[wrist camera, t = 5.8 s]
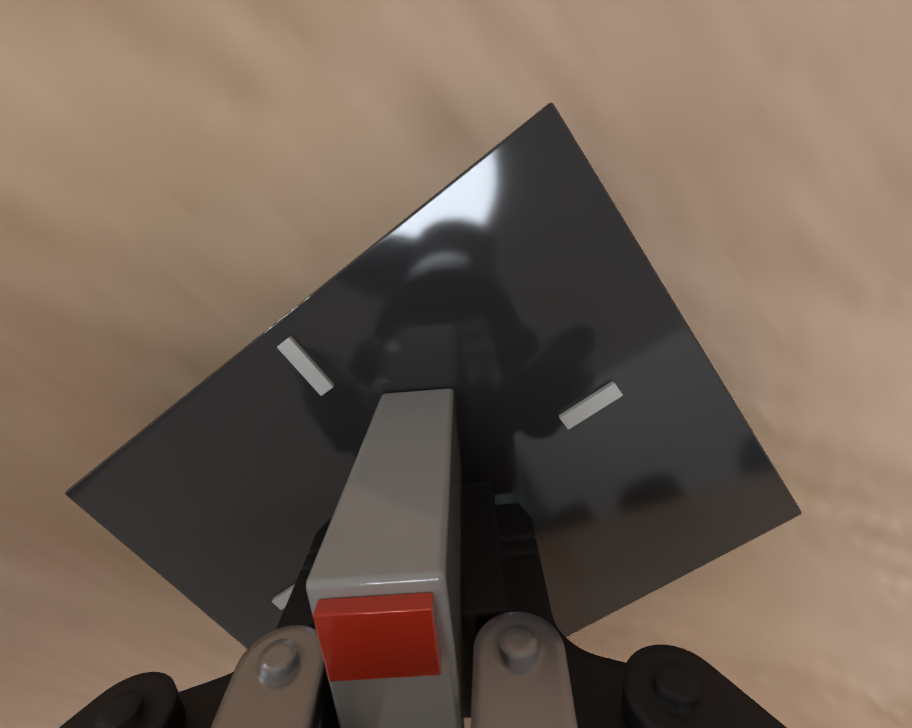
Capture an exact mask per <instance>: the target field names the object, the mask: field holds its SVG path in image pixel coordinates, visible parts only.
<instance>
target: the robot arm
mask: <svg viewBox="0 0 912 728" xmlns="http://www.w3.org/2000/svg"><path fill="white" fill-rule="evenodd" d="M332 517H333V516H332ZM332 517H331V518H330V519H329V520H328V521H327V522H326V523H325V524H324V525H323V526H322V527H321V529H320V530H319V531H318V532H317V533H316V535H315V538H314V540H313V543H312V545H311V547H310V550H309V554H307V557H306V559H305V561H304V564H303V569H302V570H301V571H300V573H299V576H298V578H297V580H296V583H295V585H294V587H293V590H292V592H291V595H290V597H289V599H288V602H287V604H286V606H285V609H284V611H283V613H282V616H281V618H280V621H279V623H278V625H277V628H276V630H274V631H272V632H270V633H268V634H266V635H264V636H263V637H261V638H260V639H259V640H257V641H256V642H255V643H254V644H253V645H252V646H250V647H249V648H248V650H247V651H246V652H245V653H244V654H243V656H242V657H241V659H240V660H239V662H238V664H237V666H236V668H235V670H234V672H232V673H230V674H228V675H226V676H223V677H221V678H218V679H215V680H212V681H209V682H207V683H204V684H201V685H198V686H195V687H192V688H189V689H187V690H184V691H181V692H178V690H177V688H176V685H175V683H174V681H173V679H172V678H171V677H170V676H168V675H166V674H164V673H160V672H147V673H142V674H138V675H135V676H132V677H130V678H127V679H125V680H123V681H121V682H119V683H117V684H115V685H114V686H112V687H111V688H109V689H108V690H106V691H105V692H103V693H102V694H101V695H99V696H98V697H97V698H96V699H94V700H93V701H92V702H91V703H89V704H88V705H87V706H86V707H84V708H83V709H82V710H81V711H79V712H78V713H77V714H76V715H74V716H73V717H72V718H71V719H69V720H68V721H67V722H66V723H64V724H63V725H62V726H61V727H59V728H340V724H339V720H338V716H337V712H336V708H335V704H334V700H333V696H332V692H331V688H330V684H329V680H328V676H327V672H326V668H325V664H324V660H323V656H322V652H321V647H320V643H319V639H318V635H317V631H316V627H315V623H314V619H313V615H312V611H311V607H310V603H309V599H308V595H307V591H306V582H307V579H308V576H309V574H310V571H311V569H312V566H313V564H314V561H315V559H316V556H317V554H318V551H319V549H320V547H321V544H322V542H323V539H324V537H325V534H326V532H327V529H328V527H329V524H330V522H331V519H332ZM461 621H462V630H463V638H464V647H465V656H466V665H467V673H468V682H469V691H470V700H471V728H786V727H785V726H784V725H783V724H782V723H780V722H779V721H778V720H777V719H776V718H774V717H773V716H772V715H771V714H769V713H768V712H767V711H766V710H765V709H763V708H762V707H761V706H760V705H759V704H757V703H756V702H755V701H754V700H753V699H751V698H750V697H749V696H748V695H746V694H745V693H744V692H743V691H742V690H740V689H739V688H738V687H737V686H736V685H734V684H733V683H732V682H731V681H729V680H728V679H727V678H726V677H725V676H723V675H722V674H721V673H720V672H719V671H717V670H716V669H715V668H714V667H712V666H711V665H710V664H709V663H707V662H706V661H705V660H703V659H702V658H701V657H699V656H697V655H695V654H694V653H692V652H689V651H687V650H685V649H682V648H679V647H675V646H670V645H652V646H647V647H644V648H642V649H640V650H638V651H636V652H635V653H634V654H633V655H632V656H631V657H630V658H629V660H628V661H627V663H625V662H621V661H617V660H613V659H609V658H605V657H601V656H597V655H594V654H591V653H589V652H586V651H584V650H582V649H581V648H579V647H577V646H576V645H574V644H573V643H572V642H570V641H569V640H568V639H567V638H566V637H565V636H564V635H563V634H562V633H561V631H560V630H559V628H558V627H557V625H556V623H555V621H554V618H553V615H552V611H551V606H550V602H549V597H548V592H547V588H546V583H545V578H544V574H543V569H542V564H541V560H540V555H539V551H538V546H537V541H536V538H535V532H534V527H533V523H532V518H531V517H530V515H529V514H528V513H527V512H526V511H525V510H524V509H523V507H522V506H521V505H520V504H519V503H512V504H497V505H495V497H494V488H493V482H481V483H467V484H461Z"/></svg>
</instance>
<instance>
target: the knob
mask: <svg viewBox="0 0 912 728" xmlns="http://www.w3.org/2000/svg"><path fill="white" fill-rule="evenodd" d="M461 484H463V478H462V468H461V458H460V448H459V438H458V428H457V418H456V408H455V398H454V392H453V390H452V389H438V390H425V391H413V392H400V393H388V394H383V395H382V396H381V398H380V401H379V403H378V406H377V408H376V411H375V413H374V415H373V418H372V420H371V423H370V425H369V428H368V430H367V433H366V435H365V438H364V440H363V443H362V445H361V448H360V450H359V453H358V455H357V458H356V460H355V462H354V465H353V467H352V470H351V472H350V475H349V477H348V480H347V482H346V485H345V487H344V490H343V492H342V495H341V497H340V500H339V502H338V504H337V507H336V509H335V512H334V514H333V517H332V519H331V522H330V524H329V527H328V529H327V532H326V534H325V537H324V539H323V542H322V544H321V547H320V549H319V551H318V554H317V556H316V559H315V561H314V564H313V566H312V569H311V571H310V574H309V576H308V579H307V582H306V591H307V595H308V599H309V603H310V607H311V611H312V615H313V619H314V623H315V627H316V631H317V635H318V639H319V643H320V647H321V652H322V656H323V660H324V664H325V668H326V672H327V676H328V680H329V684H330V688H331V692H332V696H333V700H334V704H335V708H336V712H337V716H338V720H339V724H340V728H471V700H470V691H469V682H468V673H467V665H466V656H465V647H464V638H463V630H462V621H461Z"/></svg>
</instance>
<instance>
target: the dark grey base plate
mask: <svg viewBox="0 0 912 728" xmlns="http://www.w3.org/2000/svg"><path fill="white" fill-rule="evenodd" d="M438 389H452V390H453V392H454V398H455V408H456V418H457V428H458V438H459V448H460V458H461V468H462V478H463V484H467V483H481V482H493V488H494V497H495V505H497V504H512V503H519V504H520V505H521V506H522V507H523V509H524V510H525V511H526V512H527V513H528V514H529V515H530V517H531V518H532V523H533V527H534V532H535V538H536V541H537V546H538V551H539V555H540V560H541V564H542V569H543V574H544V578H545V583H546V588H547V592H548V597H549V602H550V606H551V611H552V615H553V618H554V621H555V623H556V625H557V627H558V628H559V630H560V631H561V633H562V634H563V635H564V636H565V637H567V636H569V635H571V634H573V633H575V632H577V631H578V630H580V629H582V628H584V627H586V626H588V625H590V624H592V623H594V622H596V621H598V620H600V619H601V618H603V617H605V616H607V615H609V614H611V613H613V612H615V611H617V610H619V609H621V608H623V607H624V606H626V605H628V604H630V603H632V602H634V601H636V600H638V599H640V598H642V597H644V596H645V595H647V594H649V593H651V592H653V591H655V590H657V589H659V588H661V587H663V586H665V585H667V584H668V583H670V582H672V581H674V580H676V579H678V578H680V577H682V576H684V575H686V574H688V573H690V572H691V571H693V570H695V569H697V568H699V567H701V566H703V565H705V564H707V563H709V562H711V561H712V560H714V559H716V558H718V557H720V556H722V555H724V554H726V553H728V552H730V551H732V550H734V549H735V548H737V547H739V546H741V545H743V544H745V543H747V542H749V541H751V540H753V539H755V538H757V537H758V536H760V535H762V534H764V533H766V532H768V531H770V530H772V529H774V528H776V527H778V526H779V525H781V524H783V523H785V522H787V521H789V520H791V519H793V518H795V517H797V516H799V515H801V513H802V512H801V510H800V508H799V507H798V505H797V503H796V502H795V500H794V498H793V497H792V495H791V494H790V492H789V490H788V489H787V487H786V485H785V484H784V482H783V480H782V479H781V477H780V475H779V474H778V472H777V471H776V469H775V467H774V466H773V464H772V462H771V461H770V459H769V457H768V456H767V454H766V452H765V451H764V449H763V447H762V446H761V444H760V443H759V441H758V439H757V438H756V436H755V434H754V433H753V431H752V429H751V428H750V426H749V424H748V423H747V421H746V420H745V418H744V416H743V415H742V413H741V411H740V410H739V408H738V406H737V405H736V403H735V401H734V400H733V398H732V397H731V395H730V393H729V392H728V390H727V388H726V387H725V385H724V383H723V382H722V380H721V378H720V377H719V375H718V374H717V372H716V370H715V369H714V367H713V365H712V364H711V362H710V360H709V359H708V357H707V355H706V354H705V352H704V350H703V349H702V347H701V346H700V344H699V342H698V341H697V339H696V337H695V336H694V334H693V332H692V331H691V329H690V327H689V326H688V324H687V323H686V321H685V319H684V318H683V316H682V314H681V313H680V311H679V309H678V308H677V306H676V304H675V303H674V301H673V300H672V298H671V296H670V295H669V293H668V291H667V290H666V288H665V286H664V285H663V283H662V281H661V280H660V278H659V277H658V275H657V273H656V272H655V270H654V268H653V267H652V265H651V263H650V262H649V260H648V258H647V257H646V255H645V253H644V252H643V250H642V249H641V247H640V245H639V244H638V242H637V240H636V239H635V237H634V235H633V234H632V232H631V230H630V229H629V227H628V226H627V224H626V222H625V221H624V219H623V217H622V216H621V214H620V212H619V211H618V209H617V207H616V206H615V204H614V203H613V201H612V199H611V198H610V196H609V194H608V193H607V191H606V189H605V188H604V186H603V184H602V183H601V181H600V180H599V178H598V176H597V175H596V173H595V171H594V170H593V168H592V166H591V165H590V163H589V161H588V160H587V158H586V156H585V155H584V153H583V152H582V150H581V148H580V147H579V145H578V143H577V142H576V140H575V138H574V137H573V135H572V133H571V132H570V130H569V129H568V127H567V125H566V124H565V122H564V120H563V119H562V117H561V115H560V114H559V112H558V110H557V109H556V107H555V106H554V104H553V103H549V104H547V105H546V106H545V107H544V108H542V109H541V110H540V111H539V112H537V113H536V114H535V115H534V116H532V117H531V118H530V119H529V120H527V121H526V122H525V123H524V124H522V125H521V126H520V127H519V128H518V129H516V130H515V131H514V132H513V133H511V134H510V135H509V136H508V137H506V138H505V139H504V140H503V141H501V142H500V143H499V144H498V145H496V146H495V147H494V148H493V149H491V150H490V151H489V152H488V153H486V154H485V155H484V156H483V157H481V158H480V159H479V160H478V161H476V162H475V163H474V164H473V165H471V166H470V167H469V168H468V169H466V170H465V171H464V172H463V173H461V174H460V175H459V176H458V177H456V178H455V179H454V180H453V181H451V182H450V183H449V184H448V185H447V186H445V187H444V188H443V189H442V190H440V191H439V192H438V193H437V194H435V195H434V196H433V197H432V198H430V199H429V200H428V201H427V202H425V203H424V204H423V205H422V206H420V207H419V208H418V209H417V210H415V211H414V212H413V213H412V214H410V215H409V216H408V217H407V218H405V219H404V220H403V221H402V222H400V223H399V224H398V225H397V226H395V227H394V228H393V229H392V230H390V231H389V232H388V233H387V234H385V235H384V236H383V237H382V238H381V239H379V240H378V241H377V242H376V243H374V244H373V245H372V246H371V247H369V248H368V249H367V250H366V251H364V252H363V253H362V254H361V255H359V256H358V257H357V258H356V259H354V260H353V261H352V262H351V263H349V264H348V265H347V266H346V267H344V268H343V269H342V270H341V271H339V272H338V273H337V274H336V275H334V276H333V277H332V278H331V279H329V280H328V281H327V282H326V283H324V284H323V285H322V286H321V287H319V288H318V289H317V290H316V291H314V292H313V293H312V294H311V295H310V296H308V297H307V298H306V299H305V300H303V301H302V302H301V303H300V304H298V305H297V306H296V307H295V308H293V309H292V310H291V311H290V312H288V313H287V314H286V315H285V316H283V317H282V318H281V319H280V320H278V321H277V322H276V323H275V324H273V325H272V326H271V327H270V328H268V329H267V330H266V331H265V332H263V333H262V334H261V335H260V336H258V337H257V338H256V339H255V340H253V341H252V342H251V343H250V344H248V345H247V346H246V347H245V348H244V349H242V350H241V351H240V352H239V353H237V354H236V355H235V356H234V357H232V358H231V359H230V360H229V361H227V362H226V363H225V364H224V365H222V366H221V367H220V368H219V369H217V370H216V371H215V372H214V373H212V374H211V375H210V376H209V377H207V378H206V379H205V380H204V381H202V382H201V383H200V384H199V385H197V386H196V387H195V388H194V389H192V390H191V391H190V392H189V393H187V394H186V395H185V396H184V397H182V398H181V399H180V400H179V401H177V402H176V403H175V404H174V405H173V406H171V407H170V408H169V409H168V410H166V411H165V412H164V413H163V414H161V415H160V416H159V417H158V418H156V419H155V420H154V421H153V422H151V423H150V424H149V425H148V426H146V427H145V428H144V429H143V430H141V431H140V432H139V433H138V434H136V435H135V436H134V437H133V438H131V439H130V440H129V441H128V442H126V443H125V444H124V445H123V446H121V447H120V448H119V449H118V450H116V451H115V452H114V453H113V454H111V455H110V456H109V457H108V458H106V459H105V460H104V461H103V462H102V463H100V464H99V465H98V466H97V467H95V468H94V469H93V470H92V471H90V472H89V473H88V474H87V475H85V476H84V477H83V478H82V479H80V480H79V481H78V482H77V483H75V484H74V485H73V486H72V487H70V488H69V489H68V490H67V491H66V492H65V495H66V496H68V497H69V498H70V499H71V500H72V501H74V502H75V503H76V504H77V505H78V506H79V507H81V508H82V509H83V510H84V511H85V512H87V513H88V514H89V515H90V516H91V517H92V518H94V519H95V520H96V521H97V522H98V523H99V524H101V525H102V526H103V527H104V528H105V529H107V530H108V531H109V532H110V533H111V534H112V535H114V536H115V537H116V538H117V539H118V540H120V541H121V542H122V543H123V544H124V545H125V546H127V547H128V548H129V549H130V550H131V551H132V552H134V553H135V554H136V555H137V556H138V557H140V558H141V559H142V560H143V561H144V562H145V563H147V564H148V565H149V566H150V567H151V568H153V569H154V570H155V571H156V572H157V573H158V574H160V575H161V576H162V577H163V578H164V579H165V580H167V581H168V582H169V583H170V584H171V585H173V586H174V587H175V588H176V589H177V590H178V591H180V592H181V593H182V594H183V595H184V596H186V597H187V598H188V599H189V600H190V601H191V602H193V603H194V604H195V605H196V606H197V607H198V608H200V609H201V610H202V611H203V612H204V613H206V614H207V615H208V616H209V617H210V618H211V619H213V620H214V621H215V622H216V623H217V624H219V625H220V626H221V627H222V628H223V629H224V630H226V631H227V632H228V633H229V634H230V635H231V636H233V637H234V638H235V639H236V640H237V641H239V642H240V643H241V644H242V645H243V646H244V647H246V648H247V649H248V648H249V647H250V646H252V645H253V644H254V643H255V642H256V641H257V640H259V639H260V638H261V637H263V636H264V635H266V634H268V633H270V632H272V631H274V630H276V628H277V625H278V623H279V621H280V618H281V616H282V613H283V611H284V609H285V606H286V604H287V602H288V599H289V597H290V595H291V592H292V590H293V587H294V585H295V583H296V580H297V578H298V576H299V573H300V571H301V570H302V569H303V564H304V561H305V559H306V557H307V554H309V550H310V547H311V545H312V543H313V540H314V538H315V535H316V533H317V532H318V531H319V530H320V529H321V527H322V526H323V525H324V524H325V523H326V522H327V521H328V520H329V519H330V518H331V517H332V516H333V514H334V512H335V509H336V507H337V504H338V502H339V500H340V497H341V495H342V492H343V490H344V487H345V485H346V482H347V480H348V477H349V475H350V472H351V470H352V467H353V465H354V462H355V460H356V458H357V455H358V453H359V450H360V448H361V445H362V443H363V440H364V438H365V435H366V433H367V430H368V428H369V425H370V423H371V420H372V418H373V415H374V413H375V411H376V408H377V406H378V403H379V401H380V398H381V396H382V395H383V394H388V393H400V392H413V391H425V390H438Z"/></svg>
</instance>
